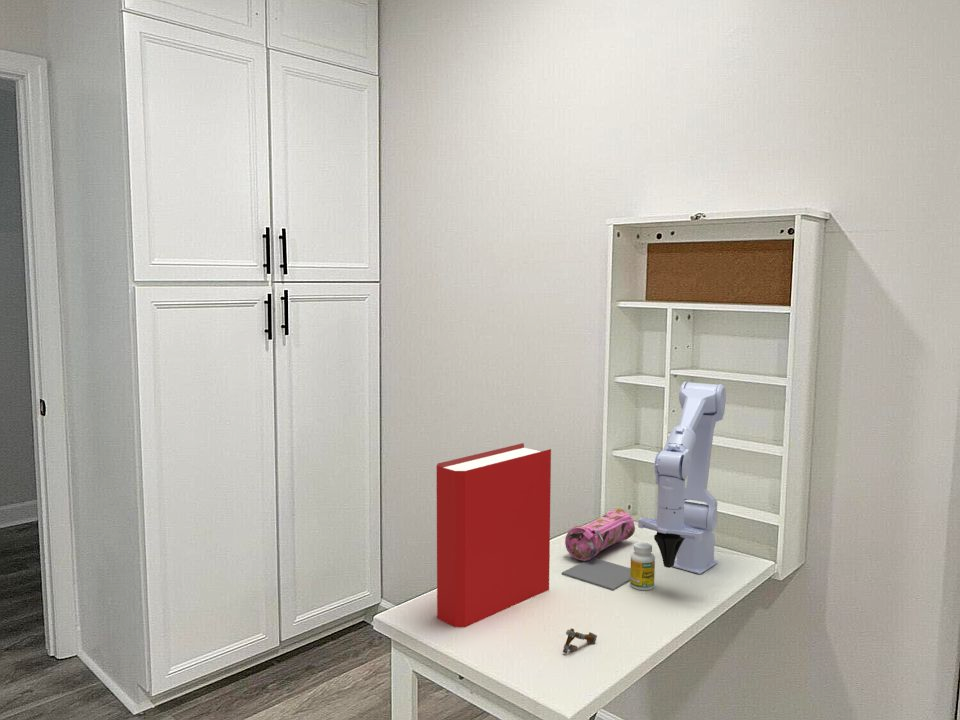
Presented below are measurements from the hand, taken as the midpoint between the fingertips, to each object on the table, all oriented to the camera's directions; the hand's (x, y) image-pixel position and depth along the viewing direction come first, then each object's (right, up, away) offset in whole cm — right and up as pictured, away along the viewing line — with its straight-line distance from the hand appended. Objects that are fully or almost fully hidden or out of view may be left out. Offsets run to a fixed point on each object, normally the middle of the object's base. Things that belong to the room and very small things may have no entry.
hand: (668, 565), depth 174 cm
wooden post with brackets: (-22, -10, -24) cm, 34 cm away
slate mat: (-13, -5, +12) cm, 18 cm away
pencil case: (-11, -3, +26) cm, 29 cm away
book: (-38, -7, -4) cm, 39 cm away
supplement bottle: (-5, -6, +5) cm, 9 cm away
